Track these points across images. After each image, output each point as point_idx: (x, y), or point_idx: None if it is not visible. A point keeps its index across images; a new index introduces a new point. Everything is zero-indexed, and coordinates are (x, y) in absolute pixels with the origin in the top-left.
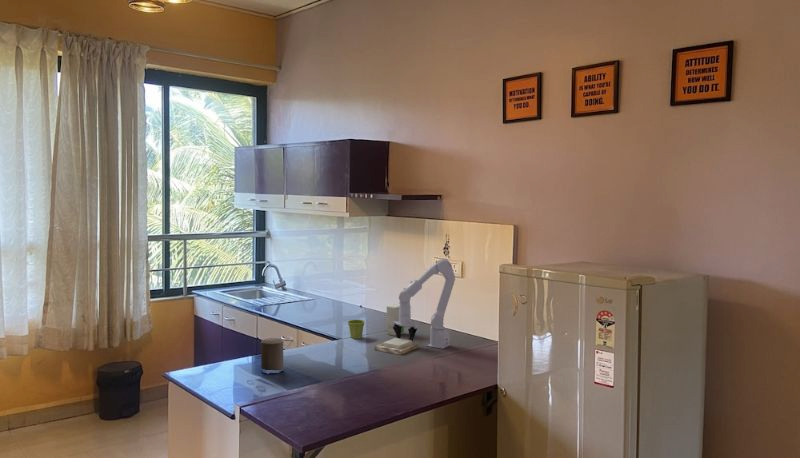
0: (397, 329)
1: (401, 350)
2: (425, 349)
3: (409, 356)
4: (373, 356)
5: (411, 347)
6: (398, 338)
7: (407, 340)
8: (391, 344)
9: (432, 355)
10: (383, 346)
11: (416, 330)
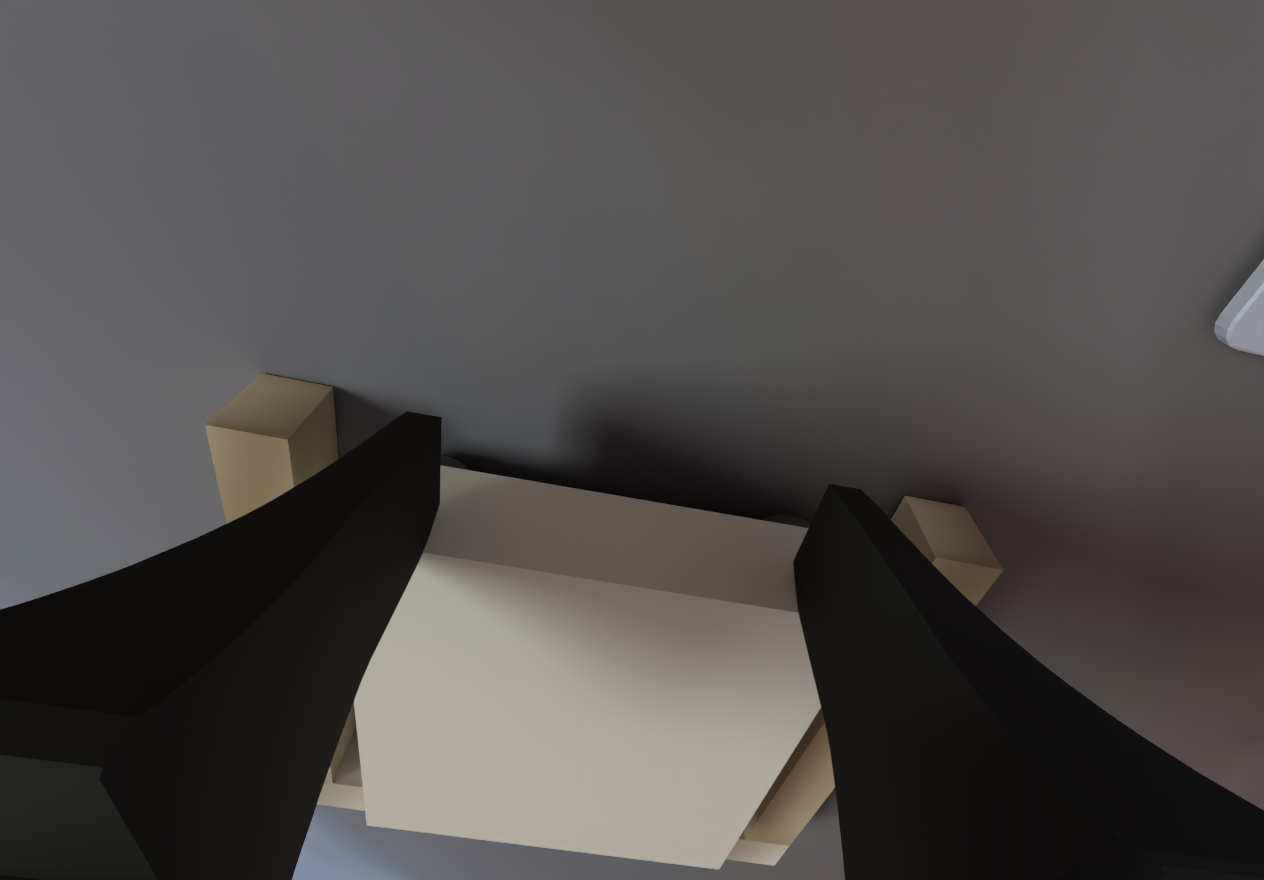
0: (290, 825)
1: (777, 857)
2: (1143, 542)
3: None
4: (486, 875)
5: None
6: (451, 574)
7: (757, 650)
8: (554, 840)
9: (1244, 743)
10: None
11: (1181, 787)
